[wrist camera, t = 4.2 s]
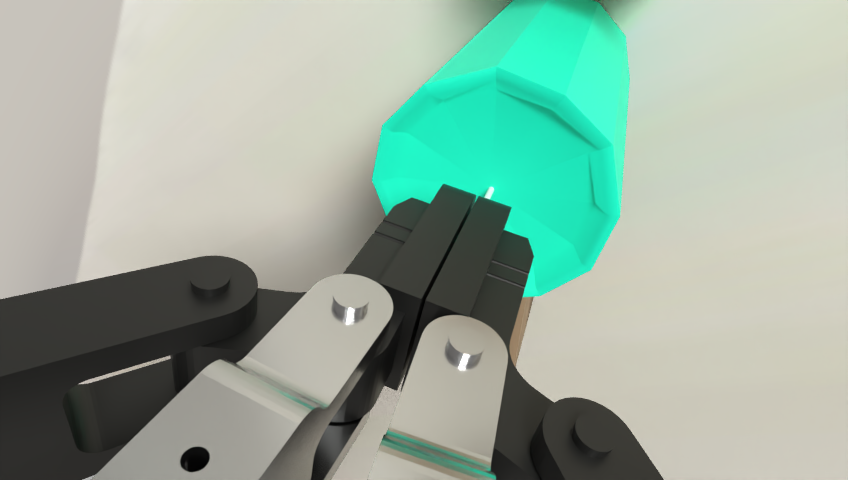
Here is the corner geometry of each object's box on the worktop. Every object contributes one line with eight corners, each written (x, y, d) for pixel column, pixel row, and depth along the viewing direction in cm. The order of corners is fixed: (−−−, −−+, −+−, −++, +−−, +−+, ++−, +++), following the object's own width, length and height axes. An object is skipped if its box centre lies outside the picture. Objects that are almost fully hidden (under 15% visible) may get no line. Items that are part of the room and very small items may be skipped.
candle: (615, 153, 22) (594, 362, 12) (470, 137, 24) (355, 311, 14) (646, -9, 19) (647, 108, 9) (475, -14, 20) (328, 81, 11)
